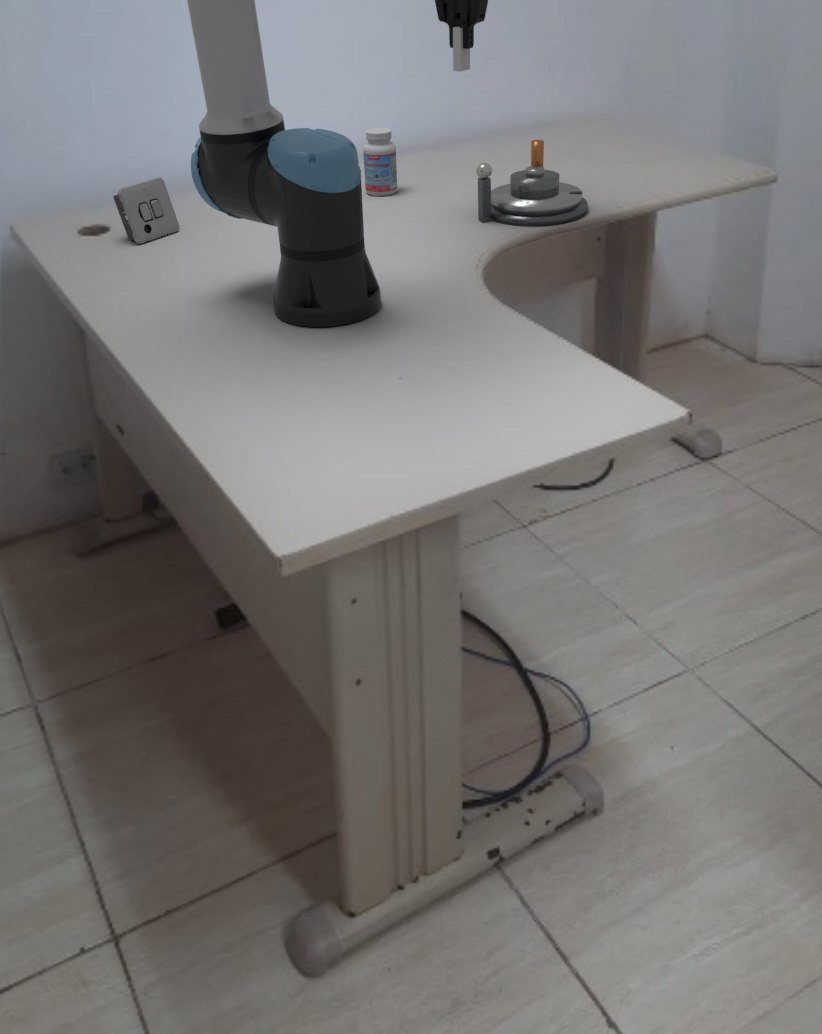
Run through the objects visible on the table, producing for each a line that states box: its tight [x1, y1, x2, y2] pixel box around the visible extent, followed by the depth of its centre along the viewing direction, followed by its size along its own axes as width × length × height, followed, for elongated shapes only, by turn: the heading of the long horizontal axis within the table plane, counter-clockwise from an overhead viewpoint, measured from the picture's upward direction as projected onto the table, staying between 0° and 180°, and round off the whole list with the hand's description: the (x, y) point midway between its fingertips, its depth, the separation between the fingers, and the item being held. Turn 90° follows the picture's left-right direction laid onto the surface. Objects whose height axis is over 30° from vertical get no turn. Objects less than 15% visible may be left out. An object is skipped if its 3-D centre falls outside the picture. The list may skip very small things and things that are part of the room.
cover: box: [509, 165, 560, 200], centre depth 183 cm, size 8×8×4 cm
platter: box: [491, 139, 583, 215], centre depth 182 cm, size 16×17×8 cm
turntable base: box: [491, 196, 589, 227], centre depth 185 cm, size 18×18×1 cm
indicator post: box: [476, 162, 493, 223], centre depth 179 cm, size 3×3×10 cm
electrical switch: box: [113, 177, 180, 245], centre depth 181 cm, size 9×5×9 cm, turn 141°
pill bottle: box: [362, 127, 398, 197], centre depth 197 cm, size 6×6×11 cm
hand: (461, 69), depth 174 cm, fingers closed
